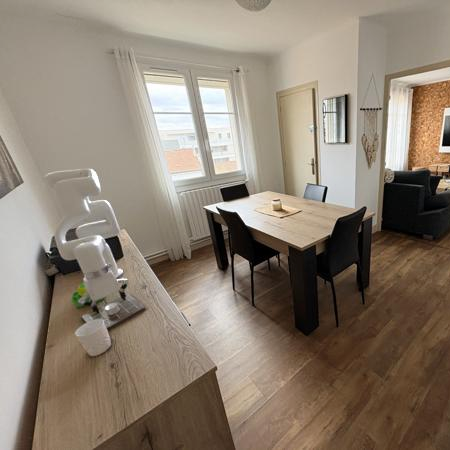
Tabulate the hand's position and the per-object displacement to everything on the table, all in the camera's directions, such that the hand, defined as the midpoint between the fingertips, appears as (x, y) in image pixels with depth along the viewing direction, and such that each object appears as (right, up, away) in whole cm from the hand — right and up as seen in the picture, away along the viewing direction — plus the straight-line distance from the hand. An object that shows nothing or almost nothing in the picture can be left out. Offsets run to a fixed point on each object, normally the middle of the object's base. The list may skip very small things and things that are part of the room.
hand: (111, 305), depth 103 cm
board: (+1, -4, +1) cm, 4 cm away
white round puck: (+1, -3, +1) cm, 3 cm away
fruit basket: (-17, -2, +10) cm, 20 cm away
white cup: (+9, -11, -16) cm, 21 cm away
